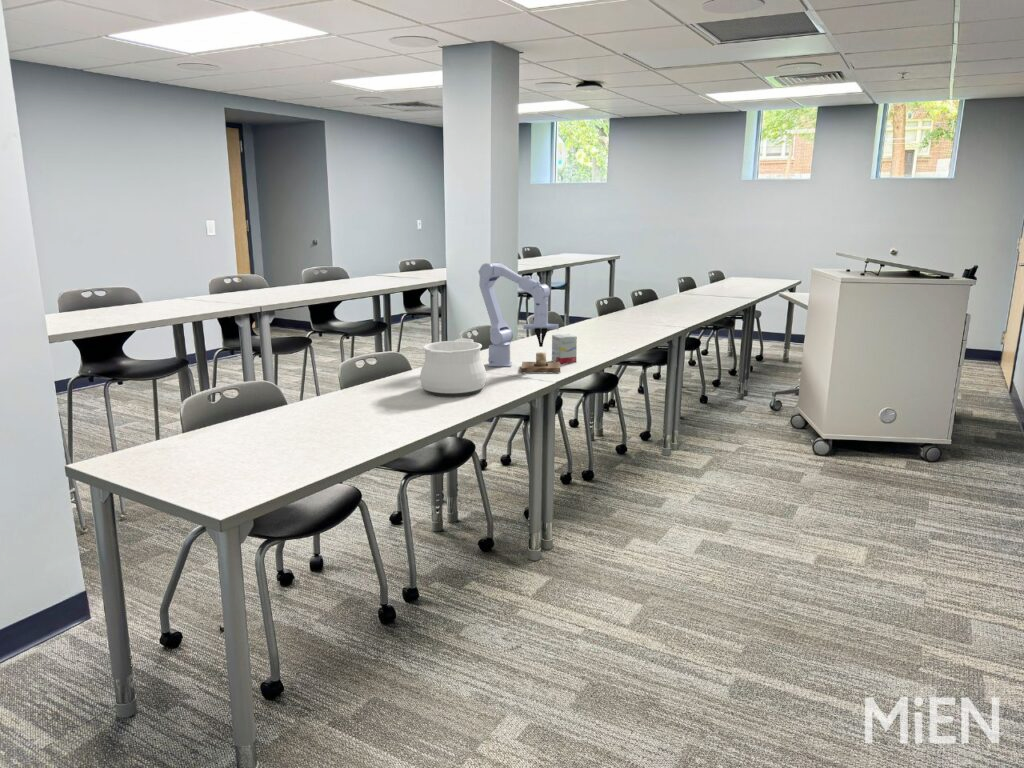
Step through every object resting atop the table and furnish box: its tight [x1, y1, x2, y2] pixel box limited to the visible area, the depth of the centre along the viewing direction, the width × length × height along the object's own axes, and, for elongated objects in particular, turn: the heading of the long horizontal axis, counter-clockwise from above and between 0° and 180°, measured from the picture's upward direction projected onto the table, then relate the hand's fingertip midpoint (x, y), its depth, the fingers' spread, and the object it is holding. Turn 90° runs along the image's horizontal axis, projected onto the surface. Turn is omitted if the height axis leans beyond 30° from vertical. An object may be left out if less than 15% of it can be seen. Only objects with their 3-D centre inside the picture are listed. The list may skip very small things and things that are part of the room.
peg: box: [535, 351, 547, 366], centre depth 300 cm, size 4×4×7 cm
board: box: [520, 361, 561, 373], centre depth 301 cm, size 16×13×2 cm
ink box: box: [551, 333, 578, 365], centre depth 316 cm, size 9×9×12 cm
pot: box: [419, 338, 487, 398], centre depth 265 cm, size 28×24×17 cm
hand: (540, 346), depth 299 cm, fingers closed
